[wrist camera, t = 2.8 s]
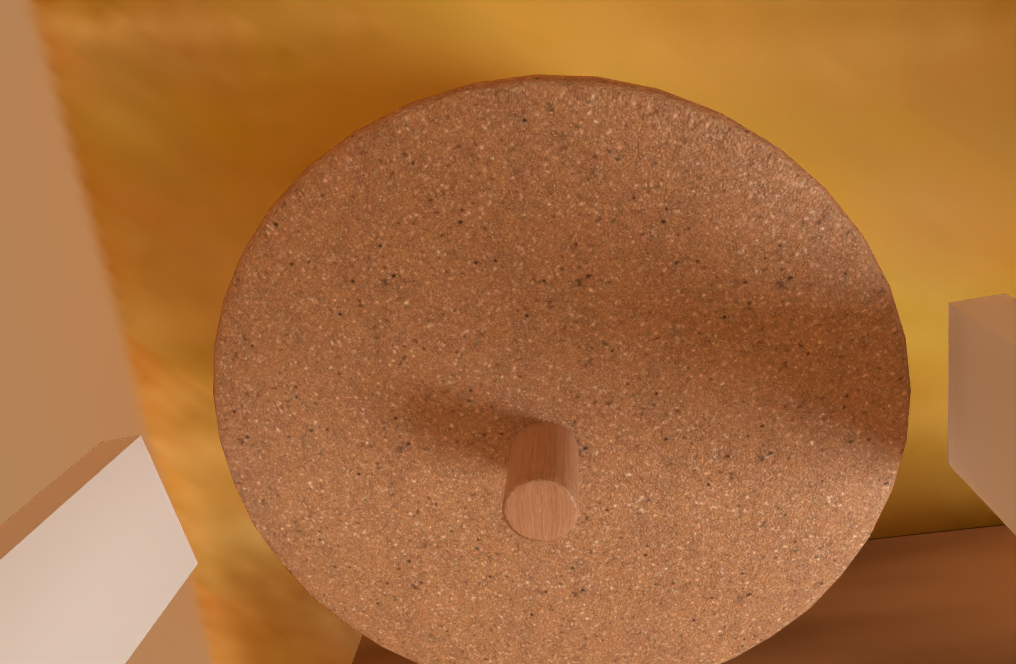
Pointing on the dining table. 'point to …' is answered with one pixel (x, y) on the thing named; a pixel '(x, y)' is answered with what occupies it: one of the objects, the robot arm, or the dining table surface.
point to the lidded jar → (561, 379)
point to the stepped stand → (892, 607)
